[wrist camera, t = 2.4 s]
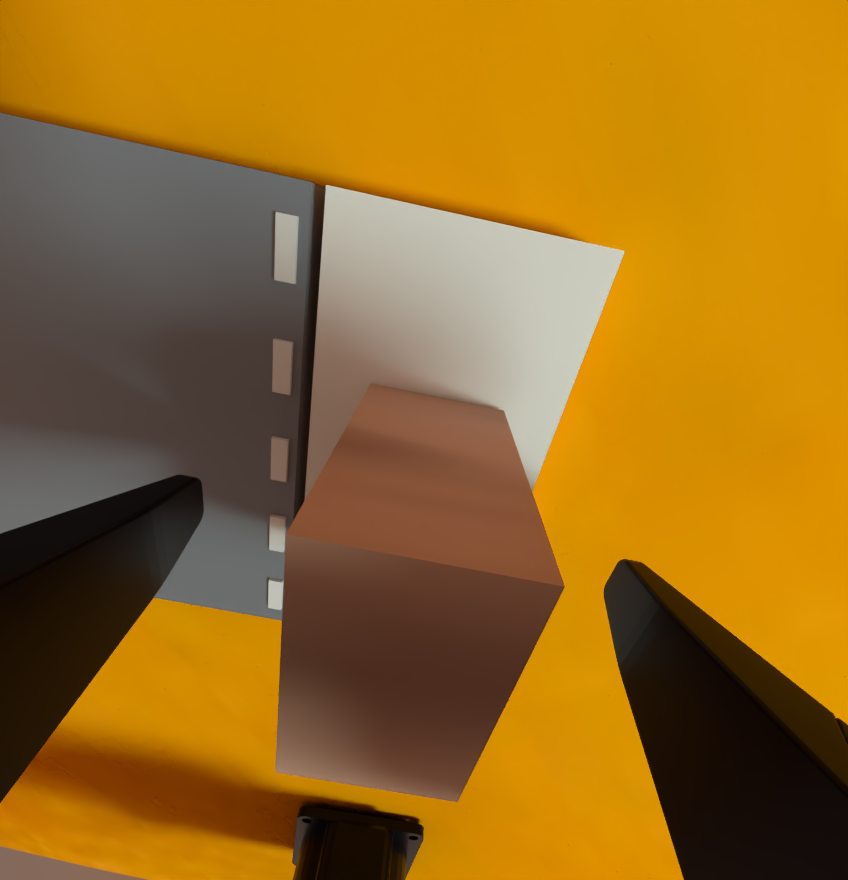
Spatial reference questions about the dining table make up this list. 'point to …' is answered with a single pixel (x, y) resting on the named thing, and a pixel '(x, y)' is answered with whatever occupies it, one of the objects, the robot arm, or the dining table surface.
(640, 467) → the dining table surface
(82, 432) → the board
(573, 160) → the dining table surface
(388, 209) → the stub
